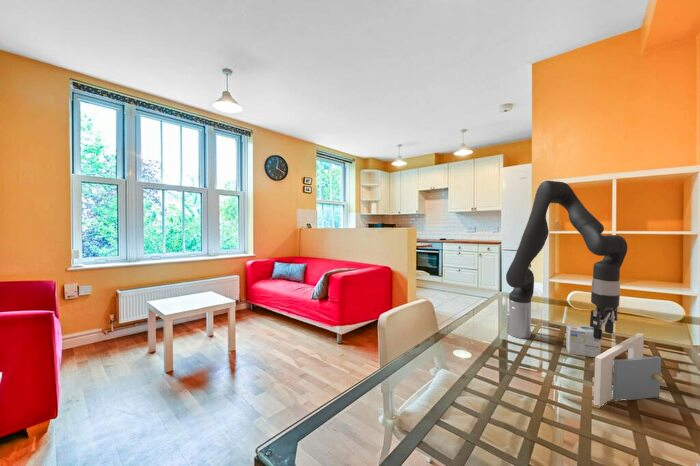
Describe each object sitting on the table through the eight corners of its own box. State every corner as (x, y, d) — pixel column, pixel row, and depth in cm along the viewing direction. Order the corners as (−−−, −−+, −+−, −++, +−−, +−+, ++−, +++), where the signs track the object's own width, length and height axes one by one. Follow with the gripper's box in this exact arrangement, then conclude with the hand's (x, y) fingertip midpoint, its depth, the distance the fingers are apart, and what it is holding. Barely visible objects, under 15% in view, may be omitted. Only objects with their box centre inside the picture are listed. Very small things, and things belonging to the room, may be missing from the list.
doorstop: (589, 376, 106) (589, 364, 106) (596, 372, 109) (596, 360, 108) (640, 397, 94) (641, 384, 94) (647, 392, 96) (647, 379, 96)
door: (612, 399, 93) (614, 360, 92) (655, 394, 94) (657, 356, 93) (620, 404, 90) (622, 364, 89) (665, 400, 92) (667, 360, 91)
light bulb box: (595, 351, 124) (596, 326, 123) (601, 358, 118) (602, 333, 117) (565, 346, 128) (565, 323, 127) (568, 354, 122) (569, 329, 121)
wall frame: (593, 405, 91) (595, 357, 89) (636, 375, 106) (638, 332, 104) (599, 408, 89) (601, 359, 88) (641, 377, 104) (643, 334, 103)
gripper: (601, 286, 109) (599, 327, 110) (582, 292, 102) (580, 336, 104) (628, 290, 102) (625, 335, 104) (609, 297, 96) (607, 345, 97)
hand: (603, 335), depth 104 cm, fingers open, 8 cm apart
